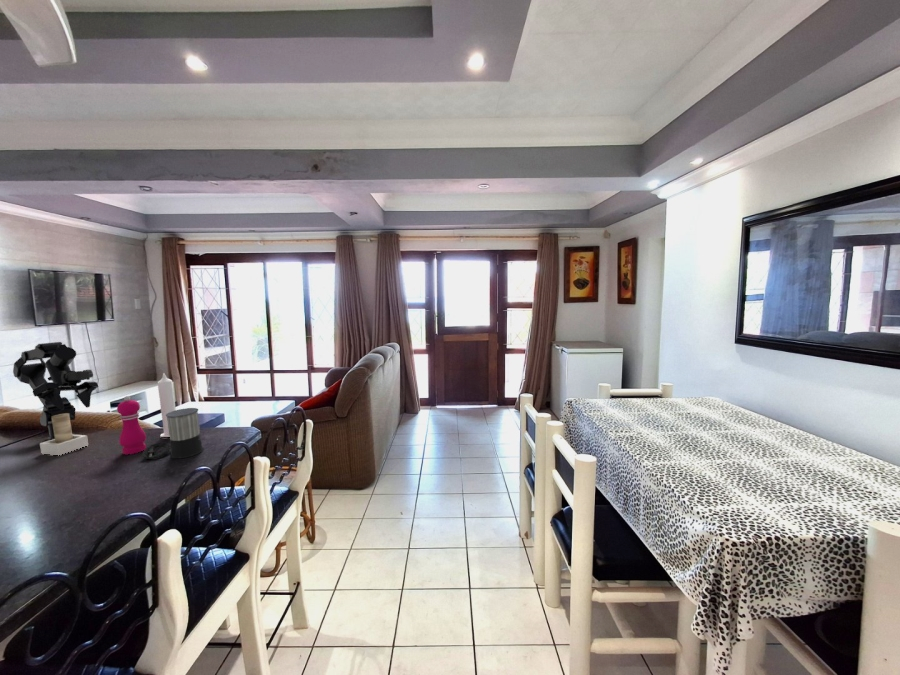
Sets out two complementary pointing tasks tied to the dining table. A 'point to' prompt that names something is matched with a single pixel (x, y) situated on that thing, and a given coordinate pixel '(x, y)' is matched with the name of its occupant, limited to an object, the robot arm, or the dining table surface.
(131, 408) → the pepper mill
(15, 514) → the dining table surface
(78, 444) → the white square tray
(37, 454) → the dining table surface
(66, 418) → the birch peg
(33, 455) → the dining table surface
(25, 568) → the dining table surface
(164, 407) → the candle
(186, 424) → the milk frother
